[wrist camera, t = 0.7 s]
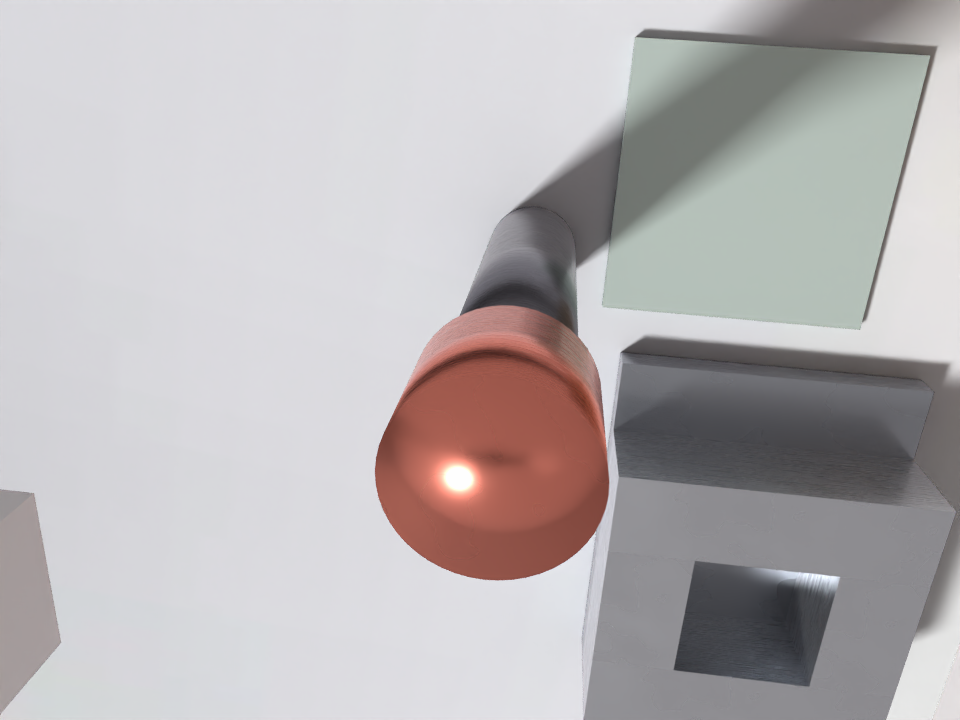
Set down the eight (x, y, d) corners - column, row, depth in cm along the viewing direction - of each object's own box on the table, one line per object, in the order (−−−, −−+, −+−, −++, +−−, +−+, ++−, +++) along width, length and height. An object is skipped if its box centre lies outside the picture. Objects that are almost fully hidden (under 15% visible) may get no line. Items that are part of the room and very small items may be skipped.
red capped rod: (474, 297, 32) (374, 567, 16) (480, 189, 31) (375, 363, 14) (581, 306, 32) (594, 591, 15) (594, 198, 30) (623, 387, 14)
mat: (602, 304, 32) (602, 307, 32) (635, 37, 28) (635, 37, 28) (856, 326, 31) (860, 330, 31) (925, 55, 27) (930, 55, 27)
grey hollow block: (581, 638, 38) (583, 720, 34) (620, 352, 33) (629, 403, 28) (835, 669, 37) (873, 757, 33) (921, 379, 32) (981, 437, 27)
